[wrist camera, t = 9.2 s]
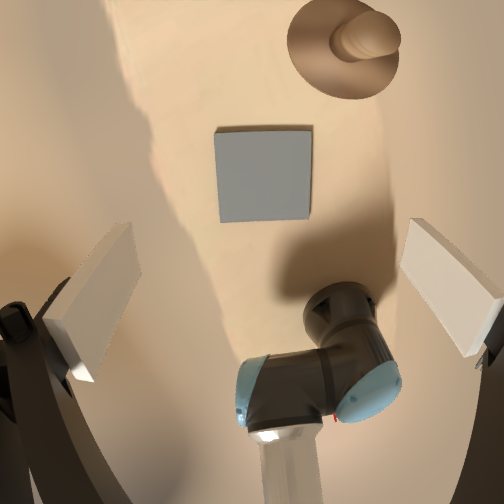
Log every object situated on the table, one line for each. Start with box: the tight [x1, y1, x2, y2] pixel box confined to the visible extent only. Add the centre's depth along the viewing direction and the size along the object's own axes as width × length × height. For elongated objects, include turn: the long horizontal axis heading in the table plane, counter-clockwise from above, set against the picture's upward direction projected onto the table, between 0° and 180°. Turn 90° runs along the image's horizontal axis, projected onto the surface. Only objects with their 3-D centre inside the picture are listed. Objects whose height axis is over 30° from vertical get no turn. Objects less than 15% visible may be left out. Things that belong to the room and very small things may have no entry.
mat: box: [214, 130, 311, 223], centre depth 43 cm, size 14×14×1 cm
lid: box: [287, 0, 401, 99], centre depth 20 cm, size 12×12×9 cm
